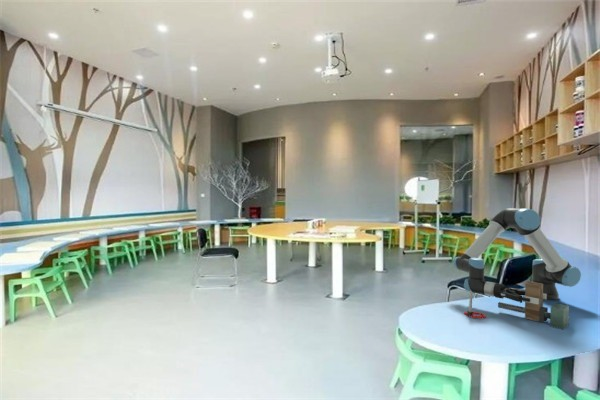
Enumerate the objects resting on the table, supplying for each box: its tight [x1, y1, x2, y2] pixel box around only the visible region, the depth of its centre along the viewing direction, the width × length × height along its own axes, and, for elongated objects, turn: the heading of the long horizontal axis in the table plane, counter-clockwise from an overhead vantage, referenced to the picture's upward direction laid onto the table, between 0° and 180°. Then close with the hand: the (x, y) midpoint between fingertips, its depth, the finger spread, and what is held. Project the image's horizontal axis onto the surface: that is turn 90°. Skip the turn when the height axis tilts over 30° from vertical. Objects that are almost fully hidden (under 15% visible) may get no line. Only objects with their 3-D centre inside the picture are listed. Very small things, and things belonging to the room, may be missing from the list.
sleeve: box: [524, 281, 544, 322], centre depth 172 cm, size 6×6×18 cm
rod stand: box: [497, 301, 570, 330], centre depth 173 cm, size 10×29×9 cm, turn 41°
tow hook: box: [463, 291, 487, 320], centre depth 177 cm, size 8×13×9 cm
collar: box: [538, 306, 549, 323], centre depth 169 cm, size 6×2×6 cm, turn 131°
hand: (542, 299), depth 169 cm, fingers open, 12 cm apart
